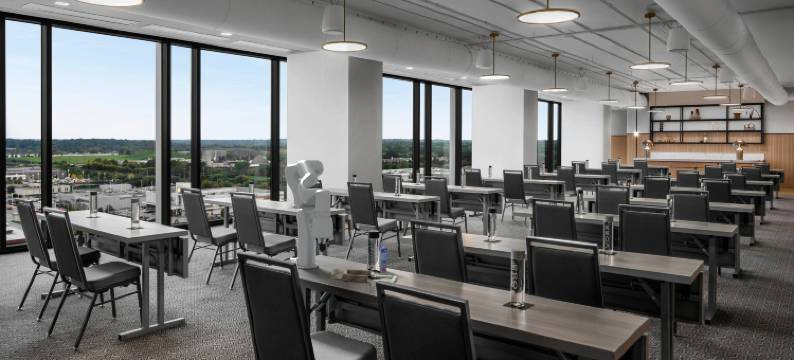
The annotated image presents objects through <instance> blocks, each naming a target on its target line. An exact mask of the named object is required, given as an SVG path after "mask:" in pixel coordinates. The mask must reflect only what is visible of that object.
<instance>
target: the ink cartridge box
mask: <svg viewBox="0 0 794 360" xmlns="http://www.w3.org/2000/svg"><path fill="white" fill-rule="evenodd" d="M379 243H380V244H379V246H380V271H382V272H386V271H387V264H388V262H387V261H388V260H387V259H388V258H387V257H388V248H387V247H382V244H383V243H381V242H379ZM368 247H369V246H367V247H366V248H367V249H366V269H365V270H368Z"/></svg>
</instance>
